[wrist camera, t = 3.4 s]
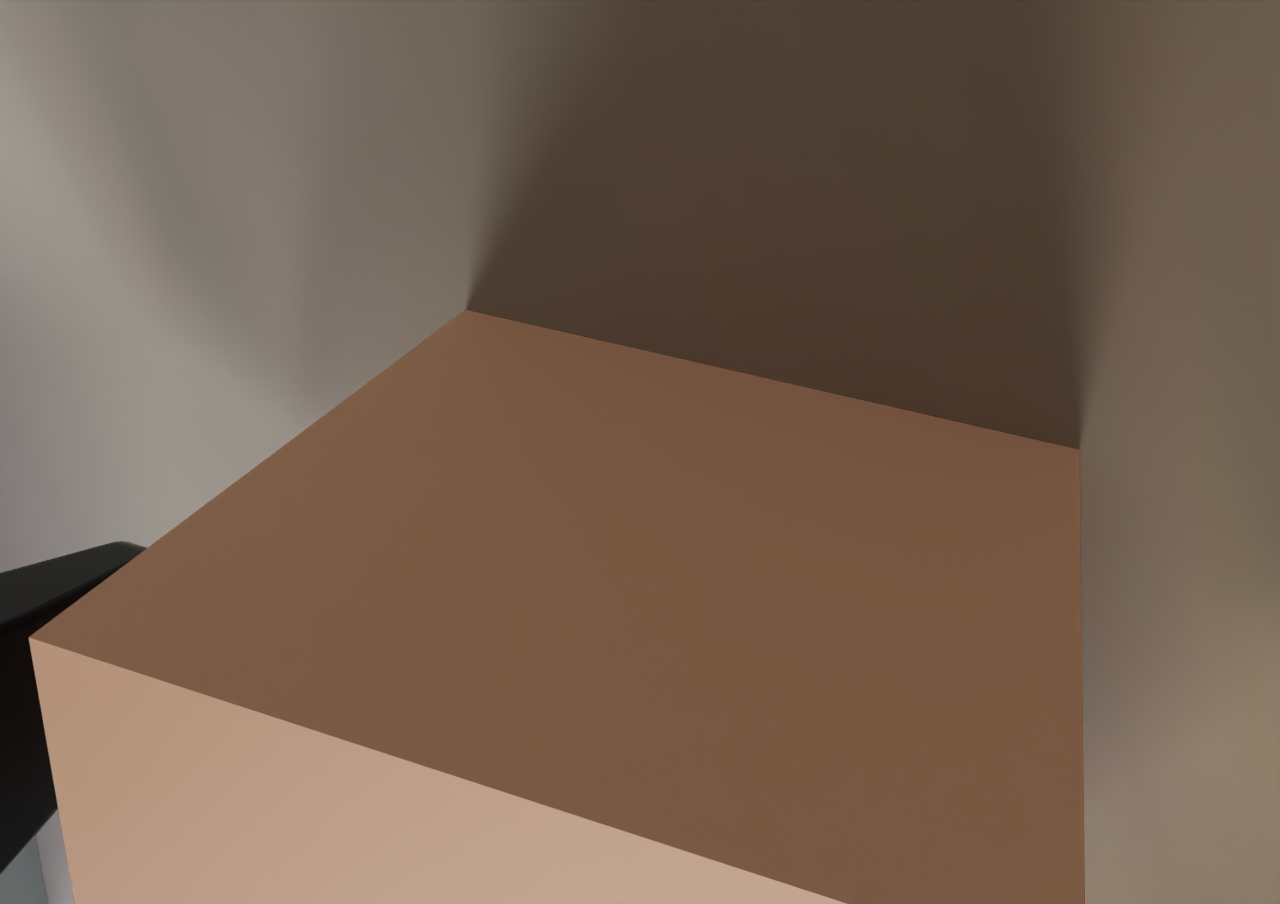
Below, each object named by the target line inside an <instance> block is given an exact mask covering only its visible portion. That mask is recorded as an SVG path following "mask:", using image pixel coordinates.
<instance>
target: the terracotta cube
mask: <svg viewBox="0 0 1280 904" xmlns="http://www.w3.org/2000/svg"><path fill="white" fill-rule="evenodd" d="M29 643H30V649H31V654H32V660H33V666H34V672H35V678H36V683H37V689H38V695H39V701H40V706H41V712H42V718H43V724H44V730H45V735H46V741H47V747H48V753H49V758H50V764H51V770H52V776H53V782H54V787H55V793H56V799H57V805H58V810H59V816H60V822H61V828H62V834H63V839H64V845H65V851H66V857H67V862H68V868H69V874H70V880H71V886H72V891H73V897H74V903H75V904H1085V866H1084V779H1083V692H1082V606H1081V519H1080V450H1079V449H1074V448H1070V447H1065V446H1061V445H1057V444H1052V443H1048V442H1043V441H1039V440H1035V439H1030V438H1026V437H1022V436H1017V435H1013V434H1008V433H1004V432H1000V431H995V430H991V429H986V428H982V427H978V426H973V425H969V424H965V423H960V422H956V421H951V420H947V419H943V418H938V417H934V416H930V415H925V414H921V413H916V412H912V411H908V410H903V409H899V408H894V407H890V406H886V405H881V404H877V403H873V402H868V401H864V400H859V399H855V398H851V397H846V396H842V395H837V394H833V393H829V392H824V391H820V390H816V389H811V388H807V387H802V386H798V385H794V384H789V383H785V382H781V381H776V380H772V379H767V378H763V377H759V376H754V375H750V374H745V373H741V372H737V371H732V370H728V369H724V368H719V367H715V366H710V365H706V364H702V363H697V362H693V361H688V360H684V359H680V358H675V357H671V356H667V355H662V354H658V353H653V352H649V351H645V350H640V349H636V348H632V347H627V346H623V345H618V344H614V343H610V342H605V341H601V340H596V339H592V338H588V337H583V336H579V335H575V334H570V333H566V332H561V331H557V330H553V329H548V328H544V327H539V326H535V325H531V324H526V323H522V322H518V321H513V320H509V319H504V318H500V317H496V316H491V315H487V314H483V313H478V312H474V311H469V310H464V311H463V312H462V313H460V314H459V315H458V316H456V317H455V318H454V319H452V320H451V321H450V322H448V323H447V324H446V325H444V326H443V327H442V328H440V329H439V330H438V331H436V332H435V333H434V334H432V335H431V336H430V337H428V338H427V339H426V340H424V341H423V342H422V343H420V344H419V345H418V346H416V347H415V348H414V349H412V350H411V351H410V352H408V353H407V354H406V355H404V356H403V357H402V358H400V359H399V360H398V361H396V362H395V363H394V364H392V365H391V366H390V367H388V368H387V369H386V370H384V371H383V372H382V373H380V374H379V375H378V376H376V377H375V378H374V379H372V380H371V381H370V382H368V383H367V384H366V385H364V386H363V387H362V388H360V389H359V390H358V391H356V392H355V393H354V394H352V395H351V396H350V397H348V398H347V399H346V400H344V401H343V402H342V403H340V404H339V405H338V406H336V407H335V408H334V409H332V410H331V411H330V412H328V413H327V414H326V415H324V416H323V417H322V418H320V419H319V420H318V421H316V422H315V423H314V424H312V425H311V426H310V427H308V428H307V429H306V430H304V431H303V432H302V433H300V434H299V435H298V436H296V437H295V438H294V439H292V440H291V441H290V442H288V443H287V444H286V445H284V446H283V447H282V448H280V449H279V450H278V451H276V452H275V453H274V454H272V455H271V456H270V457H268V458H267V459H266V460H264V461H263V462H262V463H260V464H259V465H258V466H256V467H255V468H254V469H252V470H251V471H250V472H248V473H247V474H246V475H244V476H243V477H242V478H240V479H239V480H238V481H236V482H235V483H234V484H232V485H231V486H230V487H228V488H227V489H226V490H224V491H223V492H222V493H220V494H219V495H218V496H216V497H215V498H214V499H212V500H211V501H210V502H208V503H207V504H206V505H204V506H203V507H202V508H200V509H199V510H198V511H196V512H195V513H194V514H192V515H191V516H190V517H188V518H187V519H186V520H184V521H183V522H182V523H180V524H179V525H178V526H176V527H175V528H174V529H172V530H171V531H170V532H168V533H167V534H166V535H164V536H163V537H162V538H160V539H159V540H158V541H156V542H155V543H154V544H152V545H151V546H150V547H148V548H147V549H146V550H144V551H143V552H142V553H140V554H139V555H138V556H136V557H135V558H134V559H132V560H131V561H130V562H128V563H127V564H126V565H124V566H123V567H122V568H120V569H119V570H118V571H116V572H115V573H114V574H112V575H111V576H110V577H108V578H107V579H106V580H104V581H103V582H102V583H100V584H99V585H98V586H96V587H95V588H94V589H92V590H91V591H90V592H88V593H87V594H86V595H84V596H83V597H82V598H80V599H79V600H78V601H76V602H75V603H74V604H72V605H71V606H70V607H68V608H67V609H66V610H64V611H63V612H62V613H60V614H59V615H58V616H56V617H55V618H54V619H52V620H51V621H50V622H48V623H47V624H46V625H44V626H43V627H42V628H40V629H39V630H38V631H36V632H35V633H34V634H32V635H31V636H30V637H29Z"/></svg>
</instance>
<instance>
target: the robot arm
mask: <svg viewBox="0 0 1280 904" xmlns="http://www.w3.org/2000/svg"><path fill="white" fill-rule="evenodd" d="M146 549H147V548H146V547H143V546H139V545H136V544H133V543H129V542H123V541H120V542H113V543H109V544H105V545H102V546H98V547H94V548H91V549H87V550H83V551H80V552H76V553H72V554H69V555H65V556H61V557H58V558H54V559H50V560H46V561H43V562H39V563H35V564H32V565H28V566H24V567H21V568H17V569H13V570H10V571H6V572H2V573H0V875H1V874H2V873H3V871H4V870H5V869H6V868H7V867H8V866H9V865H10V863H11V862H12V861H13V860H14V859H15V858H16V857H17V855H18V854H19V853H20V852H21V851H22V850H23V849H24V847H25V846H26V845H27V844H28V843H29V842H30V841H31V839H32V838H33V837H34V836H35V835H36V834H37V833H38V831H39V830H40V829H41V828H42V827H43V826H44V824H45V823H46V822H47V821H48V820H49V819H50V817H51V816H52V815H53V814H54V813H55V811H56V810H57V809H58V805H57V799H56V793H55V787H54V782H53V776H52V770H51V764H50V758H49V753H48V747H47V741H46V735H45V730H44V724H43V718H42V712H41V706H40V701H39V695H38V689H37V683H36V678H35V672H34V666H33V660H32V654H31V649H30V643H29V637H30V636H31V635H32V634H34V633H35V632H36V631H38V630H39V629H40V628H42V627H43V626H44V625H46V624H47V623H48V622H50V621H51V620H52V619H54V618H55V617H56V616H58V615H59V614H60V613H62V612H63V611H64V610H66V609H67V608H68V607H70V606H71V605H72V604H74V603H75V602H76V601H78V600H79V599H80V598H82V597H83V596H84V595H86V594H87V593H88V592H90V591H91V590H92V589H94V588H95V587H96V586H98V585H99V584H100V583H102V582H103V581H104V580H106V579H107V578H108V577H110V576H111V575H112V574H114V573H115V572H116V571H118V570H119V569H120V568H122V567H123V566H124V565H126V564H127V563H128V562H130V561H131V560H132V559H134V558H135V557H136V556H138V555H139V554H140V553H142V552H143V551H144V550H146Z"/></svg>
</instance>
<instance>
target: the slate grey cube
mask: <svg viewBox="0 0 1280 904" xmlns="http://www.w3.org/2000/svg"><path fill="white" fill-rule="evenodd" d="M0 904H48V900H47V894H46V889H45V884H44V878H43V873H42V868H41V862H40V857H39V851H38V846H37V841H36V835H35V836H34V837H33V838H32V839H31V841H30V842H29V843H28V844H27V845H26V846H25V847H24V849H23V850H22V851H21V852H20V853H19V854H18V855H17V857H16V858H15V859H14V860H13V861H12V862H11V863H10V865H9V866H8V867H7V868H6V869H5V870H4V871H3V873H2V874H1V875H0Z"/></svg>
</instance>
